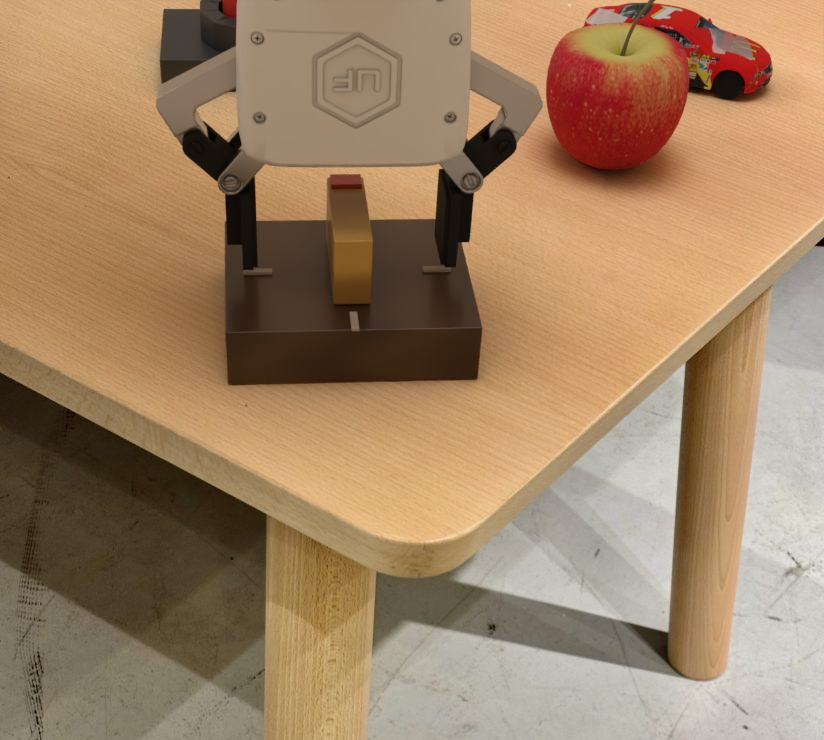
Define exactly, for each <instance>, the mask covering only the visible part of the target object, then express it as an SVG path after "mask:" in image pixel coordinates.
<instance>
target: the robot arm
mask: <svg viewBox="0 0 824 740" xmlns="http://www.w3.org/2000/svg"><path fill="white" fill-rule="evenodd" d="M235 88H236V92H235V98H236V99H235V100H236V101H235V102H236V117H237V127H236V128H235V129H234V130H233V131H232V133H231V134H230V135H229V136H228V138H227V139H225V138H224V137H223V136H222V135H221V134H220V133H218V132H217V131H216V130H215V129H214V128H213V127H211V125H209V124H208V123H207V122H205V121H204V120H203V119H202V118H201V116H200V112H199V111H198V110H197V109H198V108H200V107H201V106H203V105H205V104H207V103H210V102H211V101H213V100H216V99H217V98H219V97H221V96H223V95H225V94H227V93H230V92H229V91H231V90H233V89H235ZM471 92H473V93H475V94H477V95H478V96H481V97H483V98H484V99H487V100H489V101H490V102H492V103H494V104H495V105H498V106H500V109H499V110H498V112H497V115H496V117H495V118H494V119H492V120H490V121H489V122H488V123H487V124H486V125H485V126H484V127H482V128H481V129H480V130H479V131H478V132H476V133H475V134H474V135H473V136H472V137H471V138H470V139H468V138H467V137H468V130H469V116H470V96H471V95H470V93H471ZM155 96H156V98H155V108H156V110H157V113H159V115H160V116H161V118H162V120H163V122H165V125H167V128H168V129H169V131H170V132H171V133H172V135H173V137H174V138H176V140H177V141H178V143H179V145H181V149H182V151H183V154H184V155H185V156H186V157H187V158H188V159H189V160H190V161H192V162H193V163H194V164H195V165H196V166H198V167H199V168H200V169H201V170H202V171H203V172H205V173H206V174H207V175H208V176H209V177H211V179H213V180H214V181H215V182H216V183H217V187H218V189H219V191H220V192H221V193H223V194H224V204H225V205H224V206H225V221H226V228H227V245H242V256H243V270H254V267H258V257H257V224H256V221H257V197H256V196H257V195H256V194H257V193H256V175H257V174H258V173H259V172H260V171H261V170H262V169H263V167H264V166H266V165H267V166H272V167H280V168H408V167H409V168H413V167H431V166H437V165H439V166H440V167H441V168H439V169H438V173H437V174H438V175H437V189H436V205H435V218H434V219H435V241H436V245H437V250H438V254H439V259H440V263H441V265H444V266H445V267H456V262H457V250H458V242H462V243H470V240H471V233H472V232H471V231H472V220H473V209H474V208H473V207H474V196H475V193H477V192H479V191H480V190H481V189H482V187H483V185H484V181H485V180H484V179H486V178H487V177H488V176H489V175H491V174H492V173H493V172H494V171H495V170H497V168H498V167H500V166H501V165H502V164H503V163H505V161H507V160H508V159H510V157H511V156H512V155H514V153H515V152H516V150H517V149H518V143H519V141H520V139H521V138H522V137H524V136H525V134H526V133H527V131H528V130H529V128H530V127H531V125H532V124H533V123H534V121H535V120H536V118H537V117H538V115H539V114H540V112H541V111H542V109H543V105H544V103H543V100H542V97H541V94H540V92H539V89H538V87H537V86H536V85H535V84H534V83H532V82H530V81H528V80H526V79H525V78H523V77H521V76H519V75H517V74H516V73H513V71H510V70H508V69H507V68H504V67H503V66H502V65H499V64H497V63H495V62H494V61H492V60H490V59H488V58H486V57H484V56H482V55H481V54H479V53H477V52H476V51H473V50H472V0H237V20H236V46H234V47H232V48H231V49H229V50H227V51H225V52H223V53H221V54H219V55H217V56H215V57H213V58H211V59H209V60H207V61H205V62H203V63H202V64H200V65H198V66H196V67H194V68H192V69H190V70H188V71H186V72H184V73H182V74H180V75H178V76H176V77H175V78H173V79H171V80H169V81H167V82H165V83H163V84H160V85H159V86H158V87H157V89H156V95H155Z"/></svg>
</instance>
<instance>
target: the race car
mask: <svg viewBox="0 0 824 740" xmlns="http://www.w3.org/2000/svg"><path fill="white" fill-rule="evenodd" d="M646 4H647V2H627V3H623V4H619V5H605V6H599V7H598V6H597V7H594V8H593V9H592V10H591V11H590V12H589V14H587V17H586V18H585V20H584V25H582V27H587V26H592V25H598V24H606V23H632V24H633V22H634V21H635V19H636V17H637V16H638V14H639V13H640V12H641V10H642V9H643V7H644V6H645V5H646ZM637 24H638V25H642V26H646V27H650V28H653V29H656V30H658V31H661V32H663V33H665V34H668V35H669V36H671V37H672V38H674V39H675V40H677V41H678V42H679V43H680V44H681V46H682V47H683V49H684V51H685V52H686V55H687V59H688V64H689V87H692V88H693V87H694V88H700V89H702V90H703V89H704V90H709V91H710V90H711V89H712V87H713V86H714V91H715V93H716V94H717V95H718V96H719V97H720V98H722V99H725V100H733V99H735V98H737V97H738V96H740V95H741V94H742V91H743V94H750V93H754V92H757V91H760V90H761V89H763V88H765V87H766V86H767V85H768V84H769V83H770V81H771V78H772V77H773V72H774V67H773V61H772V57H771V54H770V52H768V51H767V49H766V48H765V47H764V46H763V45H762V44H760V43H758V42H757V41H755V40H753V39H750V38H748V37H746V36H744V35H739V34H736V33H733V32H731V31H728V30H725V29H721V28H720V27H718V26H716V25H715V24H713V21H712V18H710V17H709V18H708V19H707V18H705V17H704V16H703V15H701V14H700V13H698V12H696V11H693V10H691V9H689V8H684V7H682V6H677V5H671V4H664V3H656V2H653V3H652V5H651V6H650V7H649V8H648V9H647V10H646V11H645V13H644V14H643V15H642V16H641V18H640V19H639V21H638V22H637Z"/></svg>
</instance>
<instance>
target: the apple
mask: <svg viewBox="0 0 824 740" xmlns="http://www.w3.org/2000/svg"><path fill="white" fill-rule="evenodd" d="M655 1H656V0H648V1H647V2H646V3H647V4H646V5H645V6H644V7H643V9H642V10H641V12H640V13H639V14H638V16H637V17H636V19H635V21H634V22H633V24H632V23H606V24H598V25H592V26H587V27H583V26H582V27H579V28H576V29H574V30H570V31H569V32H567V33H566V34H565V35H564V36H562V38H561V39H560V40H559V41H558V43H557V45H555V48H554V50H553V52H552V55H551V57H550V60H549V64H548V68H547V76H546V81H545V98H546V99H545V100H546V108H547V113H548V114H547V115H548V118H549V123H550V124H551V127H552V130H553V133H554V135H555V137H556V140H557V141H558V143H559V144H560V146H561V147H562V149H563V150H564V151H565V152H566V153H567V154H568V155H569V156H570V157H572V158H573V159H575V160H577V161H578V162H580V163H583V164H584V165H587V166H589V167H592V168H595V169H598V170H606V171H617V170H618V171H619V170H626V169H631V168H634V167H637V166H640V165H643V164H645V163H647V162H648V161H649V160H652V158H654V157H655V156H656V155H657V154H659V152H660V151H661V150H662V149H663V148H664V147H665V146H666V145H667V144H668V142H669V140H671V137H672V136H673V134H674V132H675V130H677V128H678V125H679V123H680V121H681V119H682V116H683V115H684V111H685V107H686V104H687V101H688V94H689V88H690V86H689V64H688V59H687V55H686V52H685V51H684V49H683V47H682V46H681V44H680V43H679V42H678V41H677V40H675V39H674V38H672V37H671V36H669V35H668V34H665V33H663V32H661V31H658V30H656V29H653V28H650V27H646V26H642V25H638V24H637V22H638V21H639V19H640V18H641V16H642V15H643V14H644V13H645V11H646V10H647V9H648V8H649V7H650V6H651V5H652V3H655Z"/></svg>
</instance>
